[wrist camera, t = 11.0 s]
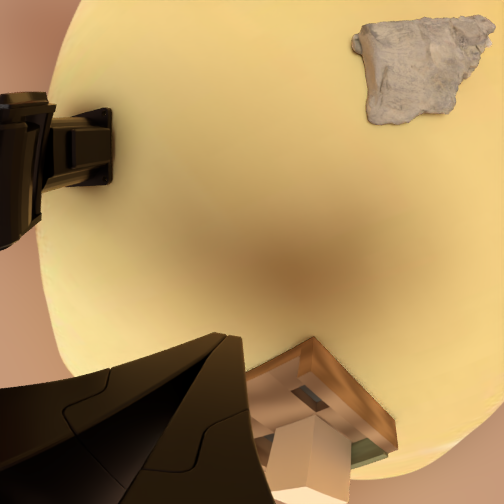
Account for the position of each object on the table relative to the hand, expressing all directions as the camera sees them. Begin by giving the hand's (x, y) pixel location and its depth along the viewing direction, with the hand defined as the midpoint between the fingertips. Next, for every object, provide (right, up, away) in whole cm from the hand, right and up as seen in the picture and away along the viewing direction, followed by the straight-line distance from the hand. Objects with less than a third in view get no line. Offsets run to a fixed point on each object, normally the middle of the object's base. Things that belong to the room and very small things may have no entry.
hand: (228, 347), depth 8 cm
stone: (+12, +15, +5) cm, 20 cm away
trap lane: (+6, -14, +17) cm, 23 cm away
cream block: (+7, -17, +16) cm, 24 cm away
